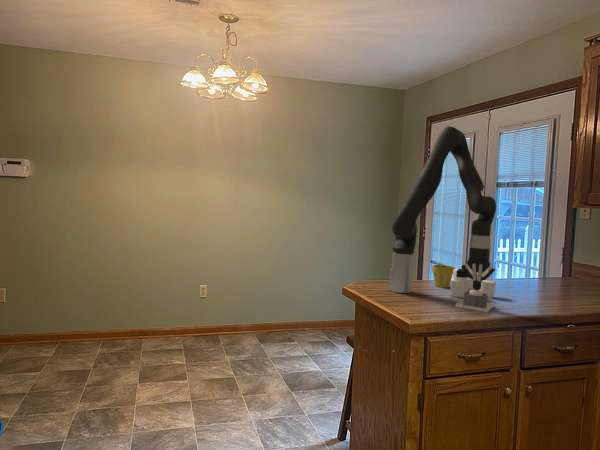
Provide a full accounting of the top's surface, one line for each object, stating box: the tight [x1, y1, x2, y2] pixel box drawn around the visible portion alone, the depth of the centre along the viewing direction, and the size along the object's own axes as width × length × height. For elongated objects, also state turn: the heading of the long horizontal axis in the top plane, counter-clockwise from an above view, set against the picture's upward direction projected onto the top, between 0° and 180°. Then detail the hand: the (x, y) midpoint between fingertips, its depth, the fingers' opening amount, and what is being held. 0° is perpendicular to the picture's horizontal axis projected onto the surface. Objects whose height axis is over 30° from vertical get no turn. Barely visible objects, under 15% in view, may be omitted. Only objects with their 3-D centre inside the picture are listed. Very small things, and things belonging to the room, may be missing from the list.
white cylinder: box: [479, 279, 497, 299], centre depth 201 cm, size 7×7×7 cm
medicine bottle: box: [449, 268, 470, 299], centre depth 199 cm, size 7×7×12 cm
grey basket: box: [455, 290, 495, 313], centre depth 181 cm, size 12×12×5 cm
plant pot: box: [431, 264, 455, 288], centre depth 220 cm, size 10×10×10 cm
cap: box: [468, 289, 483, 296], centre depth 181 cm, size 5×5×5 cm
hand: (476, 290), depth 181 cm, fingers closed
